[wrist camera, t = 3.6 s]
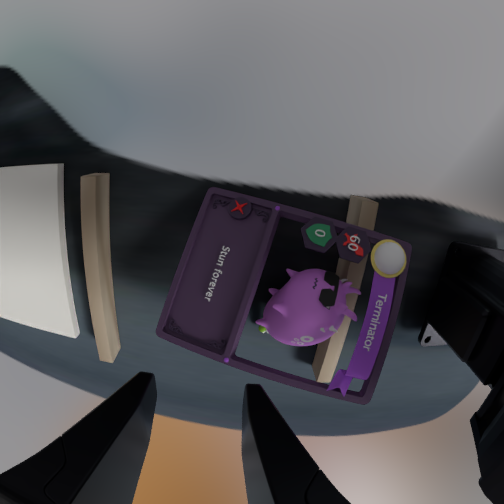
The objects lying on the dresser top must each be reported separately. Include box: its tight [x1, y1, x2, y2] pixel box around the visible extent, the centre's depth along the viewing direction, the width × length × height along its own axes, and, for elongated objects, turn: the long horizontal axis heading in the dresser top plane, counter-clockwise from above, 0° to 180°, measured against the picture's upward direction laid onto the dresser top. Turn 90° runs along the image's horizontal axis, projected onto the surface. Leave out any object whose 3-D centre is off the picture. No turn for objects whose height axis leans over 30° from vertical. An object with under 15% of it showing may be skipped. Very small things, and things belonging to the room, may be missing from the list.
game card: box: [156, 187, 412, 405], centre depth 13 cm, size 7×5×9 cm
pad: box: [0, 163, 80, 338], centre depth 13 cm, size 9×10×1 cm
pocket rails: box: [81, 173, 379, 382], centre depth 14 cm, size 13×10×2 cm
